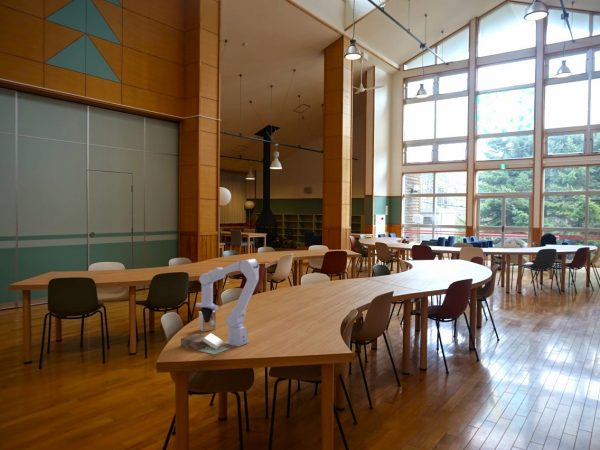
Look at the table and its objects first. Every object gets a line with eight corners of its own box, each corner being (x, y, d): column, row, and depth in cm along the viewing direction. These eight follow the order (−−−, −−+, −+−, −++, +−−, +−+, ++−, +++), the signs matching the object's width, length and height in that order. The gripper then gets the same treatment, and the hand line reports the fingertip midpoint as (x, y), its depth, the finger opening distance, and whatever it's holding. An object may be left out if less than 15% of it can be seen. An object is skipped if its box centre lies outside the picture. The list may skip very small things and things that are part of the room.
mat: (229, 349, 207) (229, 348, 207) (214, 354, 199) (214, 353, 199) (214, 345, 212) (214, 344, 212) (199, 350, 204) (199, 350, 204)
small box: (202, 332, 237) (202, 313, 237) (198, 329, 241) (198, 311, 241) (215, 329, 242) (215, 311, 241) (211, 327, 246) (211, 309, 246)
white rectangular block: (222, 344, 211) (223, 341, 210) (216, 349, 205) (217, 346, 204) (209, 336, 212) (210, 333, 212) (202, 341, 207) (204, 337, 206)
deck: (212, 345, 213) (212, 337, 213) (198, 350, 205) (198, 342, 204) (195, 341, 219) (195, 333, 219) (180, 346, 211) (180, 338, 211)
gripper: (222, 296, 221) (222, 322, 221) (202, 293, 229) (202, 318, 229) (213, 298, 215) (213, 325, 215) (192, 295, 223) (193, 321, 223)
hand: (207, 322), depth 222 cm, fingers closed
